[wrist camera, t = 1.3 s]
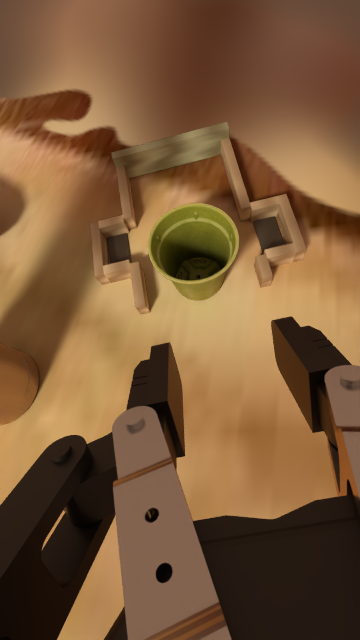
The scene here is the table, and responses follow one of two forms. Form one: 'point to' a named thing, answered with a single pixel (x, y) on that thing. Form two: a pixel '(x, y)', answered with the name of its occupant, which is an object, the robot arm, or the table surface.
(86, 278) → the table surface
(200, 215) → the plant pot
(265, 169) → the table surface
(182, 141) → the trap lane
